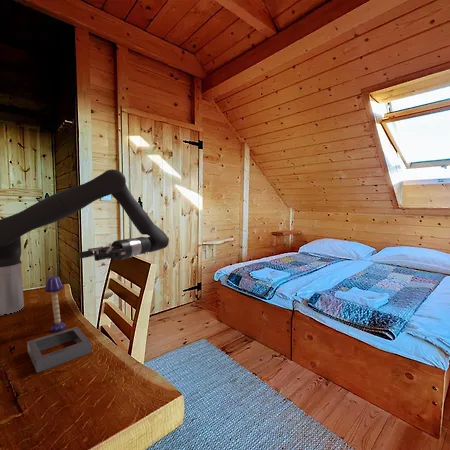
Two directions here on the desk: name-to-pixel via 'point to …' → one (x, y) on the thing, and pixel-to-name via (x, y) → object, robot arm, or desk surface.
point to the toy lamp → (55, 302)
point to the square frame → (60, 355)
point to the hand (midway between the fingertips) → (87, 256)
